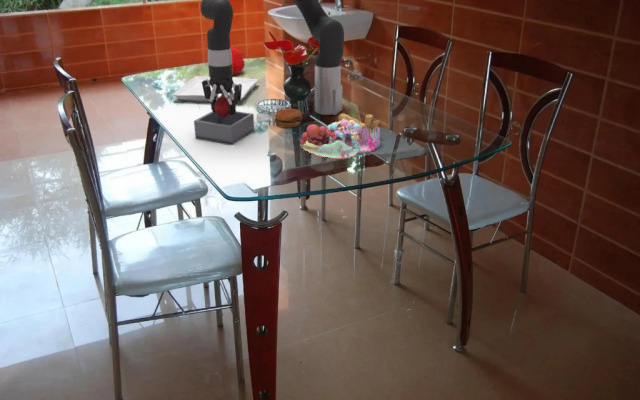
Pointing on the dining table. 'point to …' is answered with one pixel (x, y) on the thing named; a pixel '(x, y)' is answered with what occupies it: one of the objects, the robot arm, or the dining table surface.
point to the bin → (224, 127)
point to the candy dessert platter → (342, 138)
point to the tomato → (237, 60)
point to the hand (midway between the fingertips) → (223, 113)
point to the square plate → (195, 88)
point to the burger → (288, 118)
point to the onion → (222, 106)
